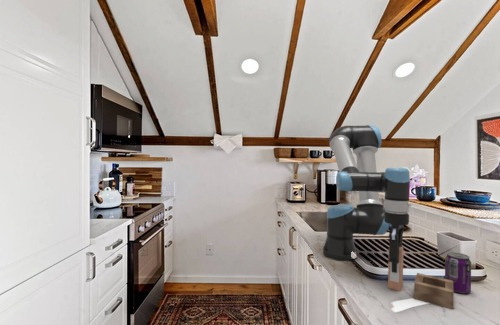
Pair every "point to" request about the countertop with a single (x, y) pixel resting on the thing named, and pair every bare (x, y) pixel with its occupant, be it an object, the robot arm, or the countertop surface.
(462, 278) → the beverage can
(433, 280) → the socket block
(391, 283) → the peg
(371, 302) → the countertop surface
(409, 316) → the countertop surface
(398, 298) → the countertop surface
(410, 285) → the countertop surface
